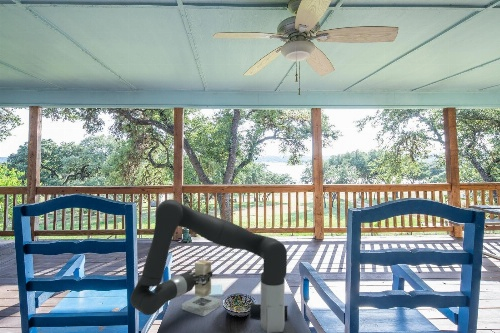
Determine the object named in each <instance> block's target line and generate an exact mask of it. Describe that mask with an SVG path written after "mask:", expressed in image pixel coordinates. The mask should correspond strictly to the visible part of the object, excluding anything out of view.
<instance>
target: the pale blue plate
mask: <svg viewBox="0 0 500 333" xmlns="http://www.w3.org/2000/svg"><path fill="white" fill-rule="evenodd" d="M207 296H210V297H222V296H224V290H223V284H211V294H209V295H207Z"/></svg>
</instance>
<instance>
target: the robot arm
mask: <svg viewBox="0 0 500 333" xmlns="http://www.w3.org/2000/svg"><path fill="white" fill-rule="evenodd" d="M154 222H155V223H154V231H153V238H152V240H151V244H150V248H149V250H148V252H147V257H146V259H145V262H144V266H143V270H142V273H141V276H140V278H139V281H138V282H137V284H136V285H135V287H134V289H133V290H132V292H131V294H130V304H131V306H132V307H133V308H134V309H136V310H137V311H138V312H140V313H142V314H143V315H145V316H152V315H155V314H156V313H157V312H158V311H159V310H160V309H161V308H162V307H163V306H164V305H165V304H166V303H167V302H170V301H171V300H173V299H177V298H178V297H181V296H183V295H185V294H186V293H189V292H191V291H192V290H193V289H194V288H195V285H198V284H199V283H201V284H202V286H204V285H206V284H207V283H208V282H209V281H210V277H211V278H212V277H213V271H211V272H208V273H206V274H198V275H195V270H194V271H192V270H189V271H186V272H182V273H180V274H178V275H175V276H173V277H171V278H170V279H168V280H165V281H162V279H163V276H164V273H165V268H166V264H167V260H168V255H169V251H170V246H171V243H172V240H173V238H174V235H175V232H176V230H177V228H178V227H180V228H184V229H187V230H190V231H191V232H194V233H195V234H197V235H198V236H200V237H201V238H204V239H206V241H208V242H210V243H213V244H216V245H219V246H221V247H225V248H229V249H236V250H242V251H247V252H250V253H252V254H253V255H256V256H258V257H260V258H261V259H263V271H262V272H261V274H260V304H261V318H260V328H261V329H262V330H263V331H264V332H266V333H283V332H284V329H285V319H284V306H285V279H286V276H287V269H288V268H287V267H288V266H287V265H288V264H287V263H288V252H287V248H286V246H285V245H284V244H283V243H282V242H280V240H278V239H276V238H275V237H274V238H273V237H270V236H269V237H268V236H265V235H261V234H258V233H255V232H252V231H250V230H248V229H247V228H244V227H242V226H240V225H238V224H236V223H234V222H231V221H228V220H226V219H223V218H221V217H216V216H214V215H211V214H208V213H204V212H200V211H197V210H195V209H192V208H190V207H188V206H187V205H185V204H183V203H181V202H179V201H177V200H175V199H166V200H163V201H161V203H159V204H158V206H157V208H156V210H155V221H154ZM199 276H200V277H199ZM204 276H205V277H204ZM203 277H204V278H203ZM151 287H155V288H154V291H152V290H151V289H150V288H151Z"/></svg>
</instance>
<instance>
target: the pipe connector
mask: <svg viewBox="0 0 500 333" xmlns="http://www.w3.org/2000/svg"><path fill="white" fill-rule="evenodd" d="M249 309H250V310H249V311H250V312H249V315H250V318H255V319H261V303H259V304H258V303H251V304H250V308H249ZM284 320H285V321H286V320H288V305H284Z"/></svg>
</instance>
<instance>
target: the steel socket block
mask: <svg viewBox="0 0 500 333" xmlns="http://www.w3.org/2000/svg"><path fill="white" fill-rule="evenodd" d="M201 304H203V305H201ZM181 306H182V307H181V308H182V309H181V310H183V311H185V312H188V313H191V314H195V315H197V316H201V317H205V316H207V315H208V314H210V313H211V312H213V311H215V310H216V309H218V308H221V306H222V299H221V298H216V297H214V296H205V297H200V296H197V295H195V296H194V297H192V298H189V299H188V300H187V301H185V302H182V304H181Z"/></svg>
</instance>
